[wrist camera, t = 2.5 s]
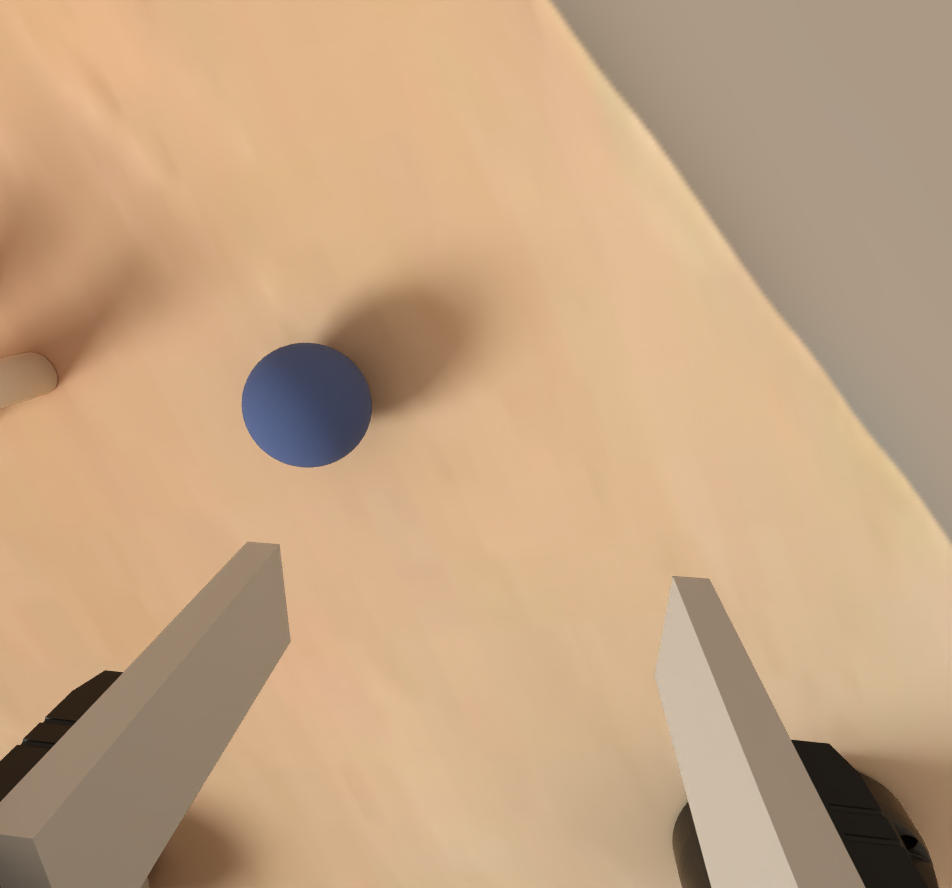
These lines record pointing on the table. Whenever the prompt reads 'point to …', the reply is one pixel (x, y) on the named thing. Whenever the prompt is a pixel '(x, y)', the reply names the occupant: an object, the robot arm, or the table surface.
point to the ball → (306, 405)
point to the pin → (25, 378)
